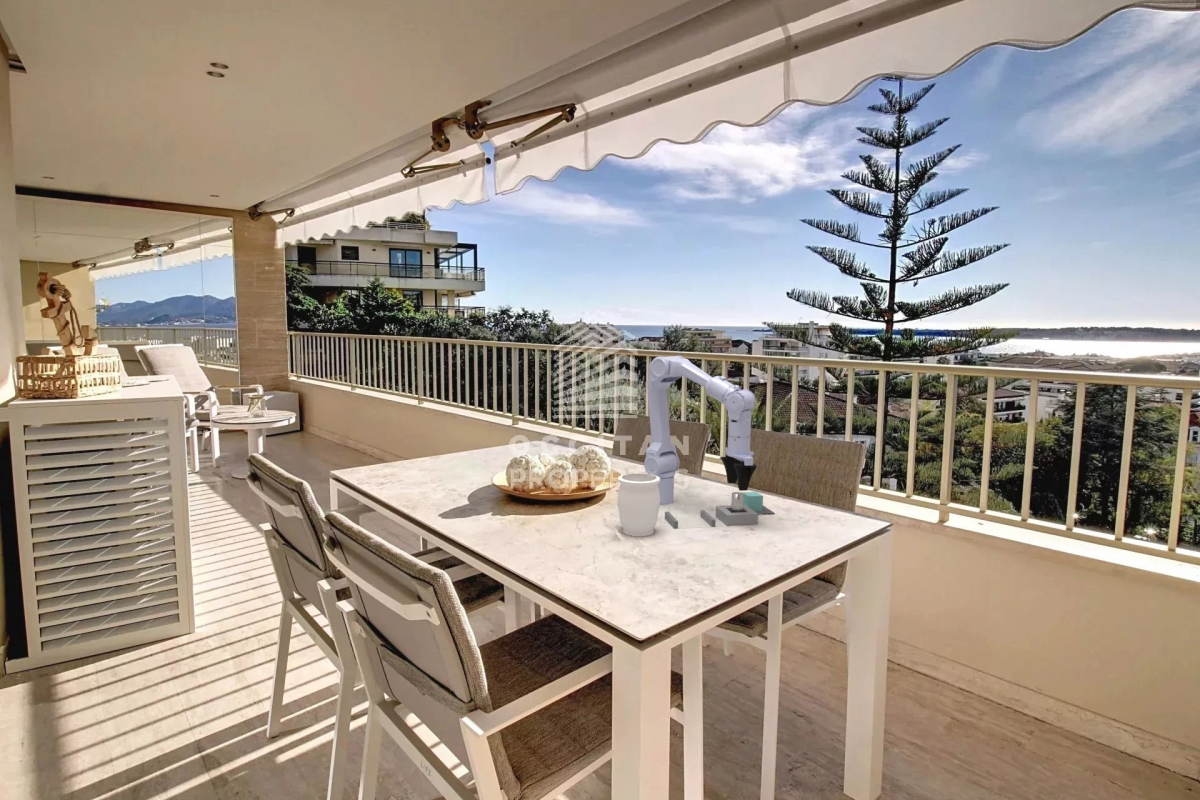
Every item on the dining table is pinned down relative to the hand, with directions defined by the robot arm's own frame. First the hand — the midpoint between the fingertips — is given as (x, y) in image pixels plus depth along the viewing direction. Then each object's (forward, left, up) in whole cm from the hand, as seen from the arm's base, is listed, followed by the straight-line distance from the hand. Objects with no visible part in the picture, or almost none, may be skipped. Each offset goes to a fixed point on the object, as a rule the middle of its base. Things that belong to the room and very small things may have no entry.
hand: (737, 486), depth 169 cm
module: (+9, +12, -10) cm, 18 cm away
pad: (+10, +12, -10) cm, 19 cm away
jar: (-28, -5, -11) cm, 30 cm away
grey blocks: (-7, 0, -10) cm, 13 cm away
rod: (0, 0, -9) cm, 9 cm away
